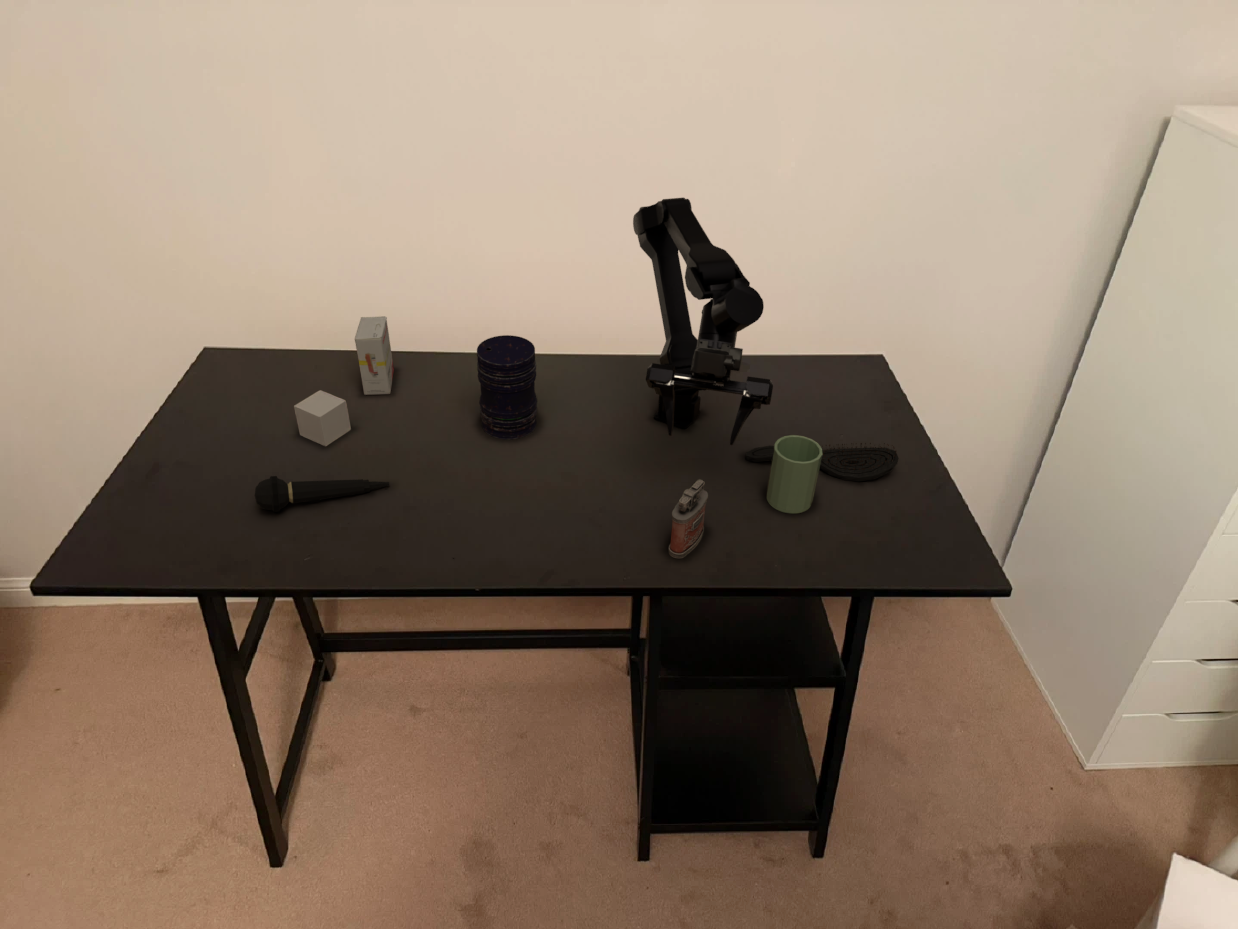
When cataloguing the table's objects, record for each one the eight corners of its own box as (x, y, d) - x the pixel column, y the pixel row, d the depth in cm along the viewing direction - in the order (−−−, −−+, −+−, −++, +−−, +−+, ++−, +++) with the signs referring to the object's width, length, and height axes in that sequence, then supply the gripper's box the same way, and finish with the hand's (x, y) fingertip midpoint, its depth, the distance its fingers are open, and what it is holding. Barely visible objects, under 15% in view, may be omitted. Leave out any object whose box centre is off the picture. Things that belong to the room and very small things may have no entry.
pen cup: (759, 503, 148) (767, 453, 142) (776, 479, 153) (784, 430, 147) (802, 519, 145) (812, 468, 139) (818, 494, 150) (828, 444, 144)
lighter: (683, 561, 136) (688, 509, 130) (663, 552, 138) (667, 500, 132) (708, 531, 142) (714, 480, 136) (689, 523, 143) (694, 472, 137)
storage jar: (538, 408, 167) (537, 335, 158) (536, 440, 160) (534, 365, 150) (483, 407, 167) (478, 334, 158) (478, 439, 159) (472, 364, 150)
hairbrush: (746, 430, 159) (895, 436, 157) (745, 447, 161) (892, 454, 159) (747, 459, 152) (902, 466, 150) (745, 477, 155) (899, 484, 152)
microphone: (387, 495, 151) (255, 507, 144) (385, 461, 149) (252, 472, 142) (392, 506, 146) (256, 519, 139) (391, 472, 144) (253, 483, 137)
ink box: (368, 370, 176) (359, 315, 168) (394, 370, 176) (387, 314, 169) (362, 395, 169) (353, 338, 162) (390, 395, 169) (382, 338, 162)
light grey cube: (325, 418, 163) (320, 389, 159) (351, 429, 160) (346, 400, 157) (299, 435, 158) (293, 405, 155) (325, 446, 156) (319, 417, 152)
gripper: (651, 315, 133) (633, 421, 131) (781, 332, 131) (764, 440, 129) (657, 336, 144) (640, 434, 142) (777, 352, 142) (762, 452, 140)
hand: (700, 440), depth 138 cm, fingers open, 9 cm apart
